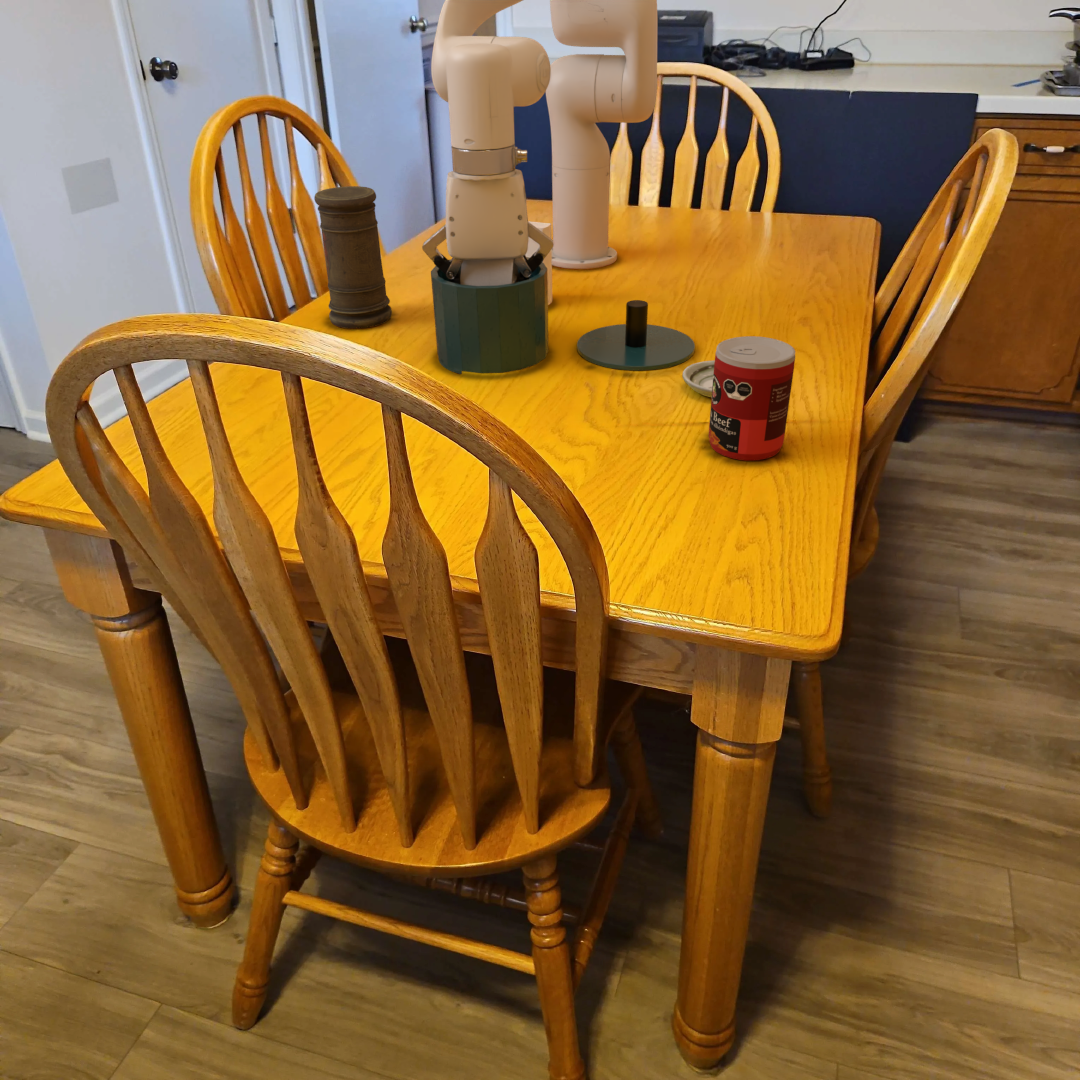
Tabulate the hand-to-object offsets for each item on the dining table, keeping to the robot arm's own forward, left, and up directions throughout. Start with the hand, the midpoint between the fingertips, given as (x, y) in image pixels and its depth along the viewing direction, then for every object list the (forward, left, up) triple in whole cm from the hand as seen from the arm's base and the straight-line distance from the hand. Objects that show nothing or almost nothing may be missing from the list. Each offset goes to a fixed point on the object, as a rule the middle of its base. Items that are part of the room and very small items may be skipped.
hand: (490, 305), depth 120 cm
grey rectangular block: (0, 0, -3) cm, 3 cm away
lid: (0, +19, -6) cm, 20 cm away
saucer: (+14, +28, -7) cm, 32 cm away
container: (-16, -20, -7) cm, 27 cm away
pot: (0, 0, -7) cm, 7 cm away
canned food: (+28, +28, -7) cm, 40 cm away
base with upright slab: (-21, +4, -7) cm, 22 cm away
